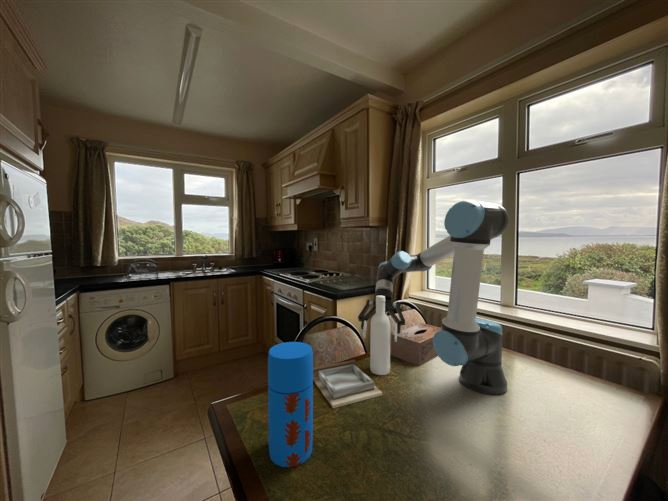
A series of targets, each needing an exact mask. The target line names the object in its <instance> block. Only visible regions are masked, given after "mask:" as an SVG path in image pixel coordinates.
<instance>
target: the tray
mask: <svg viewBox="0 0 668 501" xmlns="http://www.w3.org/2000/svg"><path fill="white" fill-rule="evenodd" d="M313 383H315V385H316V386H317V388H318V389H319V390H320V392H321V394H323V396H324V398H325V399H326V401H327V402H328V403H329V405H330V406H331V408H332V409H336V408H341V407H343V406H347V405H351V404H355V403H359V402H363V401H366V400H370V399H373V398H377V397H382V396H383V391H381V390H380V389H379V388H378V387H377V386H376V385H375V381H374V380H373V379H372V378H370V376H368V374H366V373H365V372H364V371H362V370H361V369H360V368H359V367H358V366H357V361H356V359H351V360H346V361H340V362H335V363H330V364H324V365H320V366H315V367H314V366H313Z"/></svg>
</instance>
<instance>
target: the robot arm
mask: <svg viewBox="0 0 668 501" xmlns="http://www.w3.org/2000/svg"><path fill="white" fill-rule="evenodd" d="M443 222H444V229H445V230H446V232H447V234H448V236H446V237H445V238H443V239H441V240H440V241H438V242H436V243H435V244H433V245H431V246H429V247H427V248H425V249H424V250H423V251H421V252H419V253H417V254H412V255H411V254H410V253H407V252H405V251H404V250H399V251H398V252H396V253H395V254H393V255H392V256H391V258H390V259H389V260H388V261H383V262H381V263H379V265H378V267H377V273H376V274H377V275H376V284H375V292H374V300H372V301H371V300H370V299H367V300H366V302H365V305H364V307H363V308H362V310H361V311H360V313H359V314H358V316H357V319H358V322H360V323H361V326H360V330H362V335H361V336H362V339H366V335H367V328H368V326H367V325H368V321H369V320H370V319H371V318H372V316H374V315H375V314H376V296H378V295H382V296H385V300H386V301H385V313H388V314H389V315H390V316H391V318H392V320H393V321H394V322H395V324H394V325H395V327H394V333H395V342H397V333H400V331H401V326H405V325H406V319H405V317H404V314H403V313H402V310H401V308H400V301H395V302H393V292H394V280H395V279H396V278H397V277H398V276H399V275H401V274H402V273H410V272H411V273H413V272H414V273H415V272H426V271H430V270H431V269H432V267H433V266H434V265H436V264H438V263H440V262H441V261H444V260H447V259H448V258H451V257H452V258H453V259H452V268H451V276H450V277H451V278H450V288H449V298H448V308H447V315H446V316H445V317H444V318H442V320H441V326H440V328H441V330H439V331H438V332H437V333H435V334H434V336H433V346H434V349H435V352H436V353H437V354H438V356H437V357H438V358H439V359H440V360H441V361H442V362H443V363H444V364H446V365H448V366H451V367H459V366H461V369H460V371H459V380H460V383H461V384H463V385H464V386H465V387H466V388H468V389H470V390H472V391H475V392H478V393H482V394H486V395H501V394H505V393H506V392H507V391H508V381H507V379H506V375H505V372H504V369H503V366H502V364H503V362H502V359H503V336H504V334H503V328H502V327H503V326H502V325H501V324H500V323H498V322H497V321H496V322H495V321H492V320H487V319H484V318H483V319H482V318H478V317H477V312H478V304H479V296H480V295H479V293H480V287H481V277H482V270H483V268H482V267H483V262H484V261H483V260H484V253H485V252H484V251H485V249H487V248H488V247H490V245H491V241H492V240H493V239H496V238H498V237H499V236H501V235H503V233H504V232H506V230H507V229H508V226H509V224H510V215H509V212H508V211H507V209H506V208H504V206H502V205H500V204H498V203H494V202H487V201H486V202H485V201H480V200H473V199H472V200H461V201H458V202H456V203H455V204H453V205H452V206H451V207H450V208H449V209H448V210H447V212H446V214H445V217H444V221H443ZM372 306H373V307H372ZM370 307H372V308H371V309H370ZM392 307H394V309H396V312H397V314H398V316H397V315H396V313H395V312H394V311H393V310H392ZM369 309H370V310H369Z"/></svg>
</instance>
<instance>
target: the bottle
mask: <svg viewBox="0 0 668 501" xmlns="http://www.w3.org/2000/svg"><path fill="white" fill-rule="evenodd" d="M385 301H386V300H385V296H382V295H378V296H376V313H374V314H373V315H372V316H371V318H370V331H369V332H370V334H369V335H370V336H369V337H370V338H369V339H370V343H369V345H370V346H369V347H370V357H369V359H370V360H369V368H370V373H372V374H375V375H378V376H387V375H389V373H390V372H391V321H390V317H389V316H388V315H387V314H386V312H385Z"/></svg>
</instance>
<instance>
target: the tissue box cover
mask: <svg viewBox="0 0 668 501" xmlns="http://www.w3.org/2000/svg"><path fill="white" fill-rule="evenodd" d="M439 330H441V326H440V327H438V326H435V325H431V324H426V323H422V322H420V323H418V324H415V325H412V326H409V327H407V328H404V329H402V330H401V329H400V333H397V342H395V332H393V333H390V356H392V357H394V358H397V359H400V360H402V361H405V362H407V363H410V364H413V365H415V366H418V367H421V366H423V365H425V364H426V363H429V362H430V361H431V360H434V359H435V358H437V357H439V356H438V354H437V353H436V352H435V349H434V346H433V336H434V334H435V333H437V332H438V331H439Z"/></svg>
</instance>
